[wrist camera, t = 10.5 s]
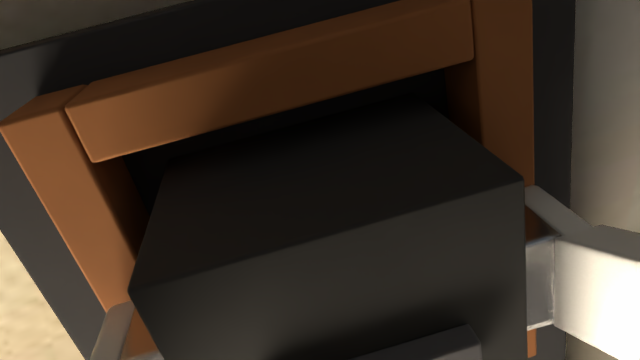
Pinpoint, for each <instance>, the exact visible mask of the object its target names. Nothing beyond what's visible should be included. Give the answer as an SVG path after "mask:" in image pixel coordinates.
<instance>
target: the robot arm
mask: <svg viewBox="0 0 640 360" xmlns="http://www.w3.org/2000/svg"><path fill="white" fill-rule="evenodd" d="M525 239H526V291H527V331H528V330H532V329H535V328H539V327H543V326H546V325H550V324H554V326H555V327H557V328H559V329H561V330H563V331H565V332H567V333H569V334H571V335H573V336H574V337H576V338H578V339H580V340H582V341H584V342H586V343H588V344H590V345H592V346H594V347H596V348H598V349H599V350H601V351H603V352H605V353H607V354H609V355H611V356H613V357H615V358H617V359H619V360H640V233H637V232H632V231H628V230H623V229H619V228H615V227H610V226H606V225H599V226H595V227H593V226H591V225H590V224H589V223H587V222H586V221H585V220H583V219H582V218H581V217H579V216H578V215H577V214H575V213H574V212H572V211H571V210H570V209H568V208H567V207H566V206H564V205H563V204H562V203H560V202H559V201H558V200H556V199H555V198H554V197H552V196H551V195H549V194H548V193H547V192H545V191H544V190H543V189H541V188H540V187H538V186H534V185H530V186H527V187H525ZM90 360H164V359H163V357H162V356H161V354H160V352H159V350H158V348H157V346H156V345H155V343H154V341H153V339H152V337H151V335H150V334H149V332H148V330H147V328H146V326H145V324H144V322H143V321H142V319H141V317H140V315H139V313H138V311H137V310H136V308H135V306H134V304H133V302H132V300H131V301H127V302H124V303H120V304H117V305H114V306H112V307H111V308H110V309H109V310H108V311H107V314H106V317H105V319H104V322H103V325H102V328H101V330H100V333H99V336H98V339H97V341H96V344H95V347H94V349H93V352H92V355H91V358H90Z"/></svg>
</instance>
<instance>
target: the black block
mask: <svg viewBox="0 0 640 360" xmlns="http://www.w3.org/2000/svg"><path fill="white" fill-rule="evenodd" d="M127 293H128V295H129V297H130V299H131V300H132V302H133V304H134V306H135V308H136V310H137V311H138V313H139V315H140V317H141V319H142V321H143V322H144V324H145V326H146V328H147V330H148V332H149V334H150V335H151V337H152V339H153V341H154V343H155V345H156V346H157V348H158V350H159V352H160V354H161V356H162V357H163V359H164V360H528V343H527V291H526V239H525V186H524V178H523V176H522V175H520V174H519V173H518V172H517V171H515V170H514V169H513V168H511V167H510V166H509V165H507V164H506V163H505V162H503V161H502V160H501V159H500V158H498V157H497V156H496V155H494V154H493V153H492V152H490V151H489V150H488V149H486V148H485V147H484V146H483V145H481V144H480V143H479V142H477V141H476V140H475V139H473V138H472V137H471V136H469V135H468V134H467V133H466V132H464V131H463V130H462V129H460V128H459V127H458V126H456V125H455V124H454V123H452V122H451V121H450V120H449V119H447V118H446V117H445V116H443V115H442V114H441V113H439V112H438V111H437V110H435V109H434V108H433V107H432V106H430V105H429V104H428V103H426V102H425V101H424V100H422V99H421V98H420V97H418V96H417V95H416V94H415V93H409V94H406V95H402V96H398V97H395V98H391V99H387V100H384V101H380V102H376V103H373V104H369V105H365V106H362V107H358V108H354V109H351V110H347V111H343V112H340V113H336V114H332V115H329V116H325V117H321V118H318V119H314V120H310V121H307V122H303V123H299V124H296V125H292V126H288V127H285V128H281V129H277V130H274V131H270V132H266V133H263V134H259V135H255V136H252V137H248V138H244V139H241V140H237V141H233V142H230V143H226V144H222V145H219V146H215V147H211V148H208V149H204V150H200V151H197V152H193V153H189V154H186V155H182V156H178V157H175V158H171V159H169V160H168V162H167V166H166V169H165V172H164V175H163V178H162V181H161V184H160V188H159V191H158V194H157V197H156V200H155V203H154V206H153V210H152V213H151V216H150V219H149V222H148V225H147V228H146V231H145V235H144V238H143V241H142V244H141V247H140V250H139V253H138V257H137V260H136V263H135V266H134V269H133V272H132V275H131V279H130V282H129V285H128V288H127Z"/></svg>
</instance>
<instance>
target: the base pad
mask: <svg viewBox="0 0 640 360" xmlns="http://www.w3.org/2000/svg"><path fill="white" fill-rule="evenodd" d="M575 8H576V0H192V1H188V2H184V3H181V4H177V5H173V6H169V7H165V8H161V9H157V10H154V11H150V12H146V13H142V14H138V15H134V16H130V17H127V18H123V19H119V20H115V21H111V22H107V23H103V24H99V25H96V26H92V27H88V28H84V29H80V30H76V31H72V32H69V33H65V34H61V35H57V36H53V37H49V38H45V39H41V40H38V41H34V42H30V43H26V44H22V45H18V46H14V47H11V48H7V49H3V50H0V230H1V232H2V233H3V235H4V236H5V238H6V239H7V241H8V242H9V244H10V246H11V247H12V249H13V250H14V252H15V253H16V255H17V256H18V258H19V259H20V261H21V262H22V264H23V265H24V267H25V268H26V270H27V272H28V273H29V275H30V276H31V278H32V279H33V281H34V282H35V284H36V285H37V287H38V288H39V290H40V291H41V293H42V294H43V296H44V297H45V299H46V301H47V302H48V304H49V305H50V307H51V308H52V310H53V311H54V313H55V314H56V316H57V317H58V319H59V320H60V322H61V323H62V325H63V327H64V328H65V330H66V331H67V333H68V334H69V336H70V337H71V339H72V340H73V342H74V343H75V345H76V346H77V348H78V349H79V351H80V353H81V354H82V356H83V357H84V359H85V360H90V358H91V355H92V352H93V349H94V347H95V344H96V341H97V339H98V336H99V333H100V330H101V328H102V325H103V322H104V319H105V317H106V314H107V311H108V310H109V309H110V308H111V307H112V306H114V305H117V304H120V303H124V302H127V301H131V299H130V297H129V295H128V293H127V288H128V285H129V282H130V279H131V275H132V272H133V269H134V266H135V263H136V260H137V257H138V253H139V250H140V247H141V244H142V241H143V238H144V235H145V231H146V228H147V225H148V222H149V219H150V216H151V213H152V210H153V206H154V203H155V200H156V197H157V194H158V191H159V188H160V184H161V181H162V178H163V175H164V172H165V169H166V166H167V162H168V160H169V159H171V158H175V157H178V156H182V155H186V154H189V153H193V152H197V151H200V150H204V149H208V148H211V147H215V146H219V145H222V144H226V143H230V142H233V141H237V140H241V139H244V138H248V137H252V136H255V135H259V134H263V133H266V132H270V131H274V130H277V129H281V128H285V127H288V126H292V125H296V124H299V123H303V122H307V121H310V120H314V119H318V118H321V117H325V116H329V115H332V114H336V113H340V112H343V111H347V110H351V109H354V108H358V107H362V106H365V105H369V104H373V103H376V102H380V101H384V100H387V99H391V98H395V97H398V96H402V95H406V94H409V93H415V94H416V95H417V96H418V97H420V98H421V99H422V100H424V101H425V102H426V103H428V104H429V105H430V106H432V107H433V108H434V109H435V110H437V111H438V112H439V113H441V114H442V115H443V116H445V117H446V118H447V119H449V120H450V121H451V122H452V123H454V124H455V125H456V126H458V127H459V128H460V129H462V130H463V131H464V132H466V133H467V134H468V135H469V136H471V137H472V138H473V139H475V140H476V141H477V142H479V143H480V144H481V145H483V146H484V147H485V148H486V149H488V150H489V151H490V152H492V153H493V154H494V155H496V156H497V157H498V158H500V159H501V160H502V161H503V162H505V163H506V164H507V165H509V166H510V167H511V168H513V169H514V170H515V171H517V172H518V173H519V174H520V175H522V176H523V178H524V186H525V187H527V186H530V185H534V186H538V187H540V188H541V189H543V190H544V191H545V192H547V193H548V194H549V195H551V196H552V197H554V198H555V199H556V200H558V201H559V202H560V203H562V204H563V205H564V206H566V207H567V208H568V209H570V183H571V148H572V113H573V78H574V43H575ZM527 343H528V360H565V359H566V332H565V331H563V330H561V329H559V328H557V327H555V326H554V324H550V325H546V326H543V327H539V328H535V329H532V330H528V331H527Z"/></svg>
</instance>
